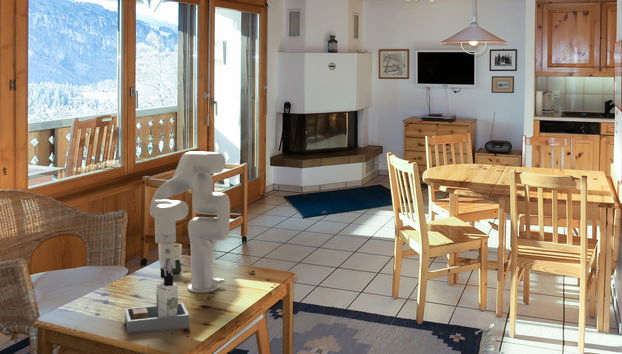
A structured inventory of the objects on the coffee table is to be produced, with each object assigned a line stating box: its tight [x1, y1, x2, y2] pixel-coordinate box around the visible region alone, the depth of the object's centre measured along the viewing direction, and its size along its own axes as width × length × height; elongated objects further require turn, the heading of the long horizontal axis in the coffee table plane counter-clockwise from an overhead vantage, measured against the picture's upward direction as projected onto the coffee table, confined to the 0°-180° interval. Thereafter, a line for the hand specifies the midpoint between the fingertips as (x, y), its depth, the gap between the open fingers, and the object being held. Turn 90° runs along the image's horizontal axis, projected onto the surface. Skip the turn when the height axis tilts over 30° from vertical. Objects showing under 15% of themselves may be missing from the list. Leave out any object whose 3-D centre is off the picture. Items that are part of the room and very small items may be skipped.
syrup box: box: [155, 282, 179, 317], centre depth 267 cm, size 6×6×14 cm
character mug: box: [172, 243, 183, 274], centre depth 329 cm, size 11×7×13 cm, turn 33°
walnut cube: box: [133, 308, 148, 320], centre depth 264 cm, size 5×5×5 cm
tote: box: [124, 302, 190, 336], centre depth 266 cm, size 22×14×5 cm, turn 109°
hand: (166, 281), depth 266 cm, fingers open, 9 cm apart
